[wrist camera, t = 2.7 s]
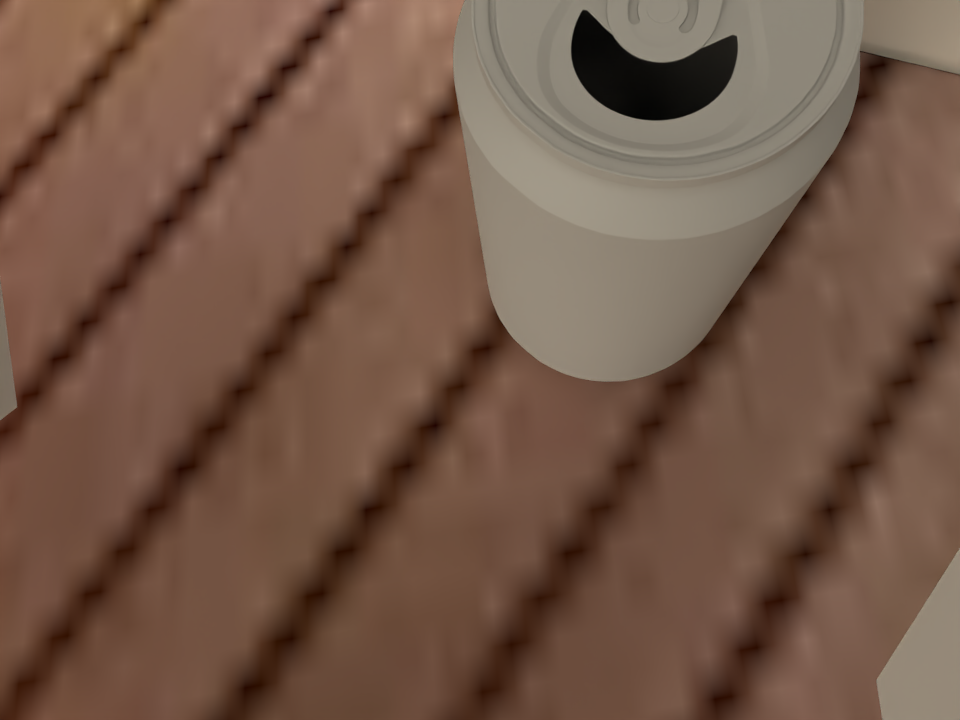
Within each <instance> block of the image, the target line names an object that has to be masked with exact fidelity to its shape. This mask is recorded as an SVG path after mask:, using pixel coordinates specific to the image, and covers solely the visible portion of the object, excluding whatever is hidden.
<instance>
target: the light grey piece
mask: <svg viewBox="0 0 960 720" xmlns="http://www.w3.org/2000/svg"><path fill="white" fill-rule="evenodd" d="M859 49H860V51H863V52H867V53H871V54H876V55H880V56H884V57H888V58H892V59H897V60H901V61H905V62H909V63H913V64H918V65H922V66H926V67H930V68H934V69H938V70H943V71H947V72H951V73H955V74H959V75H960V0H864V25H863V35H862V40H861V44H860V48H859Z"/></svg>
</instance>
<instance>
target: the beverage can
mask: <svg viewBox="0 0 960 720" xmlns="http://www.w3.org/2000/svg"><path fill="white" fill-rule="evenodd" d="M863 25H864V0H465V1H464V4H463V7H462V9H461V12H460V15H459V19H458V23H457V27H456V33H455V39H454V48H453V69H454V82H455V89H456V95H457V101H458V107H459V113H460V119H461V125H462V131H463V137H464V143H465V149H466V155H467V161H468V167H469V173H470V179H471V186H472V192H473V198H474V204H475V210H476V216H477V222H478V228H479V234H480V240H481V246H482V252H483V258H484V264H485V270H486V276H487V282H488V287H489V292H490V296H491V299H492V302H493V305H494V307H495V309H496V312H497V314H498V316H499V318H500V320H501V322H502V323H503V325H504V326H505V328H506V329H507V331H508V332H509V334H510V335H511V336H512V337H513V338H514V340H515V341H517V342H518V343H519V344H520V345H521V346H522V347H523V348H524V349H525V350H526V351H527V352H529V353H530V354H531V355H532V356H533V357H534V358H536V359H537V360H538V361H540V362H541V363H543V364H545V365H547V366H549V367H550V368H552V369H555V370H557V371H559V372H561V373H564V374H566V375H570V376H573V377H576V378H580V379H586V380H592V381H602V382H614V381H627V380H632V379H637V378H641V377H645V376H648V375H651V374H653V373H656V372H658V371H661V370H663V369H665V368H667V367H669V366H671V365H672V364H674V363H676V362H677V361H679V360H680V359H682V358H683V357H685V356H686V355H687V354H688V353H689V352H691V351H692V350H693V349H694V348H695V347H696V346H697V345H698V344H699V343H700V342H701V341H702V340H703V339H704V337H705V336H706V335H707V333H708V332H709V331H710V329H711V328H712V326H713V325H714V324H715V322H716V321H717V319H718V318H719V316H720V315H721V313H722V312H723V311H724V309H725V308H726V306H727V305H728V303H729V302H730V300H731V299H732V297H733V296H734V295H735V293H736V292H737V290H738V289H739V287H740V286H741V284H742V283H743V282H744V280H745V279H746V277H747V276H748V274H749V273H750V271H751V270H752V269H753V267H754V266H755V264H756V263H757V261H758V260H759V258H760V257H761V256H762V254H763V253H764V251H765V250H766V248H767V247H768V245H769V244H770V243H771V241H772V240H773V238H774V237H775V235H776V234H777V232H778V231H779V230H780V228H781V227H782V225H783V224H784V222H785V221H786V219H787V218H788V217H789V215H790V214H791V212H792V211H793V209H794V208H795V206H796V205H797V204H798V202H799V201H800V199H801V198H802V196H803V195H804V193H805V192H806V191H807V189H808V188H809V186H810V185H811V183H812V182H813V180H814V179H815V178H816V176H817V175H818V173H819V172H820V170H821V169H822V167H823V166H824V165H825V163H826V162H827V160H828V159H829V157H830V156H831V154H832V153H833V151H834V150H835V148H836V147H837V145H838V143H839V141H840V139H841V137H842V135H843V133H844V131H845V129H846V127H847V125H848V123H849V120H850V118H851V115H852V112H853V108H854V104H855V101H856V97H857V93H858V87H859V77H860V49H859V48H860V44H861V40H862V35H863Z"/></svg>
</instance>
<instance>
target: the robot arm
mask: <svg viewBox="0 0 960 720" xmlns="http://www.w3.org/2000/svg"><path fill="white" fill-rule="evenodd" d="M15 408H17V402H16V394H15V387H14V379H13V372H12V364H11V357H10V349H9V342H8V334H7V327H6V319H5V312H4V305H3V297H2V290H1V282H0V420H1V419H2V418H4V417H5V416H6V415H7V414H9V413H10V412H11V411H13V410H14V409H15ZM876 682H877V688H878V695H879V701H880V708H881V714H882V720H960V549H959V550H958V552H957V553H956V555H955V557H954V558H953V560H952V561H951V563H950V565H949V566H948V568H947V569H946V571H945V572H944V574H943V576H942V577H941V579H940V580H939V582H938V583H937V585H936V587H935V588H934V590H933V591H932V593H931V595H930V596H929V598H928V599H927V601H926V602H925V604H924V606H923V607H922V609H921V610H920V612H919V614H918V615H917V617H916V618H915V620H914V621H913V623H912V625H911V626H910V628H909V629H908V631H907V632H906V634H905V636H904V637H903V639H902V640H901V642H900V644H899V645H898V647H897V648H896V650H895V651H894V653H893V655H892V656H891V658H890V659H889V661H888V663H887V664H886V666H885V667H884V669H883V670H882V672H881V674H880V675H879V677H878V678H877V680H876Z"/></svg>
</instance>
